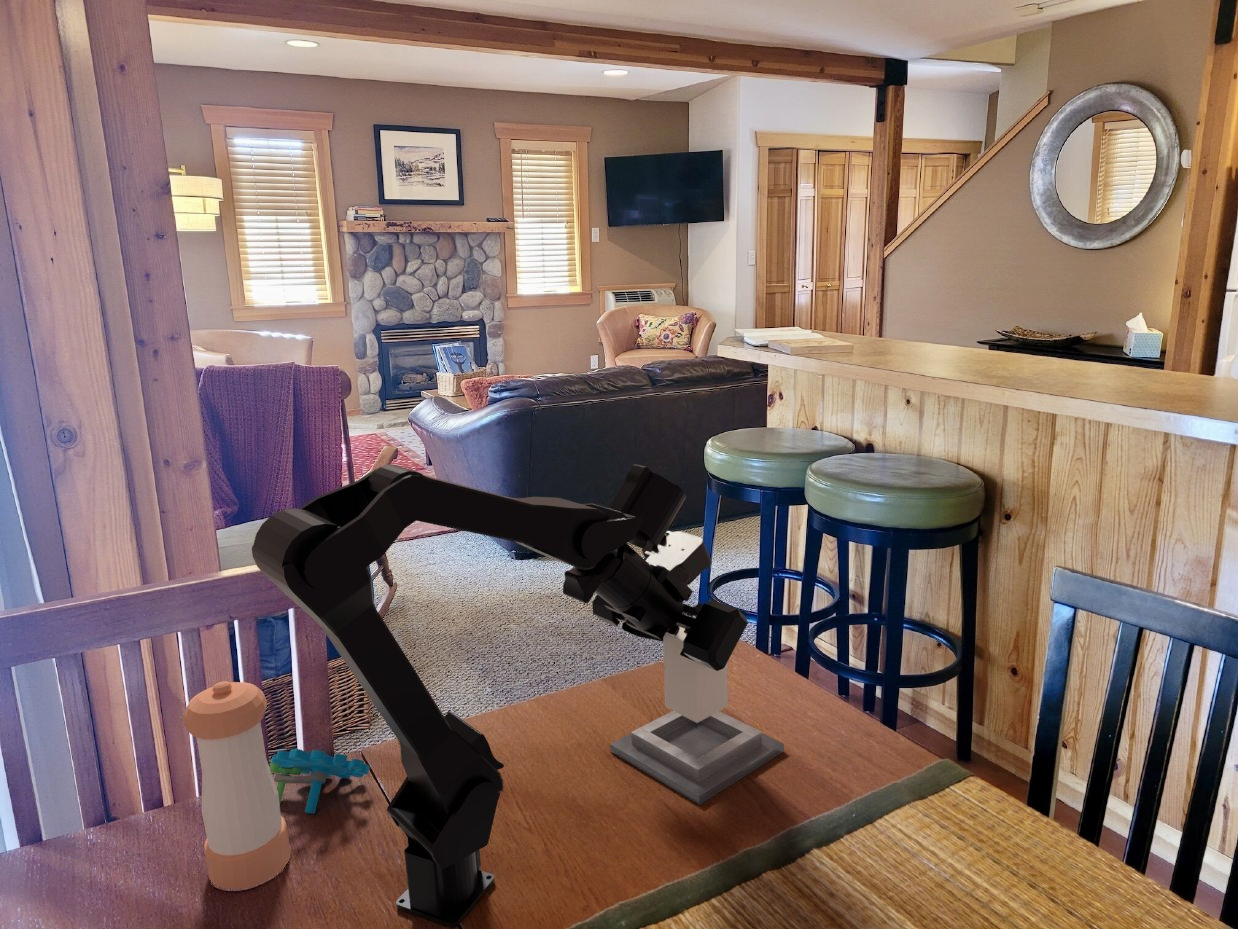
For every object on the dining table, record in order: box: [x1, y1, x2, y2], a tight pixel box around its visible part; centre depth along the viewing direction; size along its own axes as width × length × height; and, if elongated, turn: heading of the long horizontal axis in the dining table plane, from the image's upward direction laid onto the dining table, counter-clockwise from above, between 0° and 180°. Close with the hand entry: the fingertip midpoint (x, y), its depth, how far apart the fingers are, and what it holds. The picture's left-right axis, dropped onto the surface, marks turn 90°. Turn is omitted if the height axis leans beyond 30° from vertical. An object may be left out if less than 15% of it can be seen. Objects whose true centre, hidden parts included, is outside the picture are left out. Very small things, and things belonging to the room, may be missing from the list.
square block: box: [662, 626, 729, 723], centre depth 96 cm, size 5×5×9 cm
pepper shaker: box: [182, 680, 292, 889], centre depth 80 cm, size 7×7×19 cm
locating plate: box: [609, 710, 785, 806], centre depth 98 cm, size 14×14×2 cm
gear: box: [269, 748, 370, 815], centre depth 91 cm, size 11×6×10 cm
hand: (703, 648), depth 96 cm, fingers closed on square block, 5 cm apart
